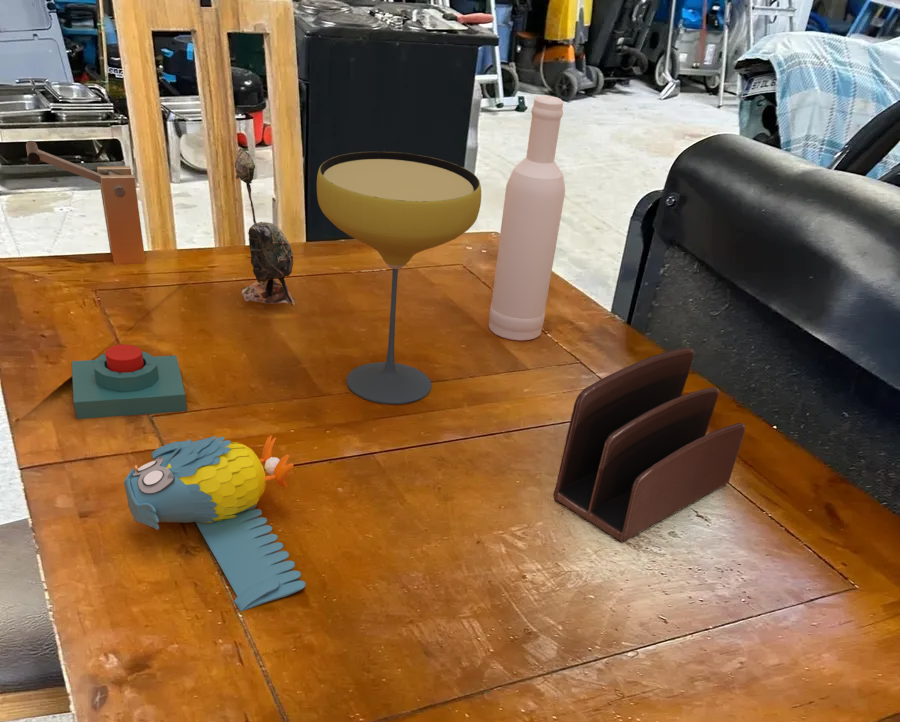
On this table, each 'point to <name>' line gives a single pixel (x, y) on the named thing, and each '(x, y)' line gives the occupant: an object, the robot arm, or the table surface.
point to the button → (124, 358)
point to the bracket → (122, 215)
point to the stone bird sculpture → (265, 250)
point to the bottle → (529, 230)
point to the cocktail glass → (396, 234)
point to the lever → (60, 162)
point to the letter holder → (643, 446)
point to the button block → (127, 388)
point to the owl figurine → (219, 509)
